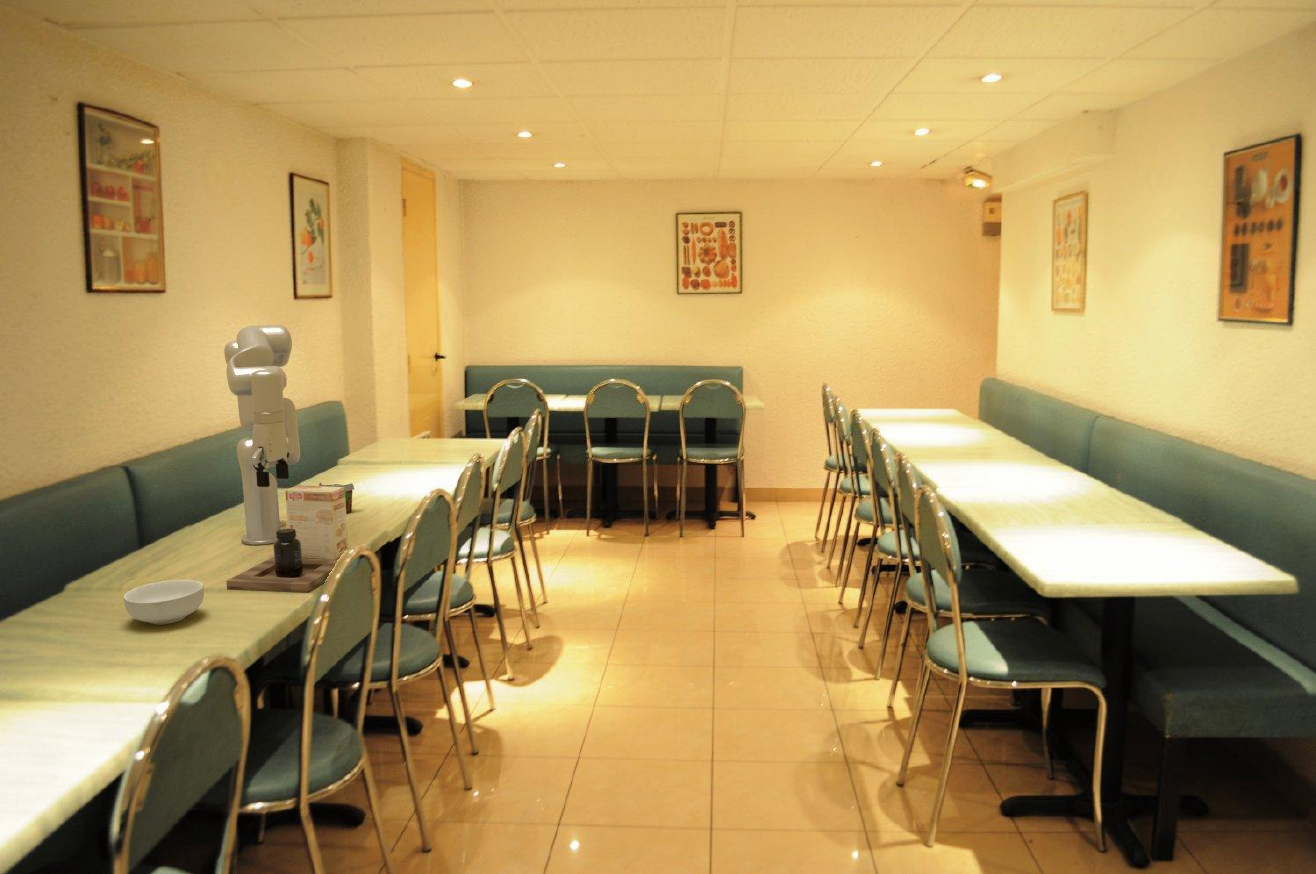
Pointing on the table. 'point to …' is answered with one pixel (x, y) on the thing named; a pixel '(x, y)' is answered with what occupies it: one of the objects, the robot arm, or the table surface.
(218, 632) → the table surface
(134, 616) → the cereal bowl
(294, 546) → the supplement bottle
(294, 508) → the coffeecake box
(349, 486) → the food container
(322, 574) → the wooden tray
